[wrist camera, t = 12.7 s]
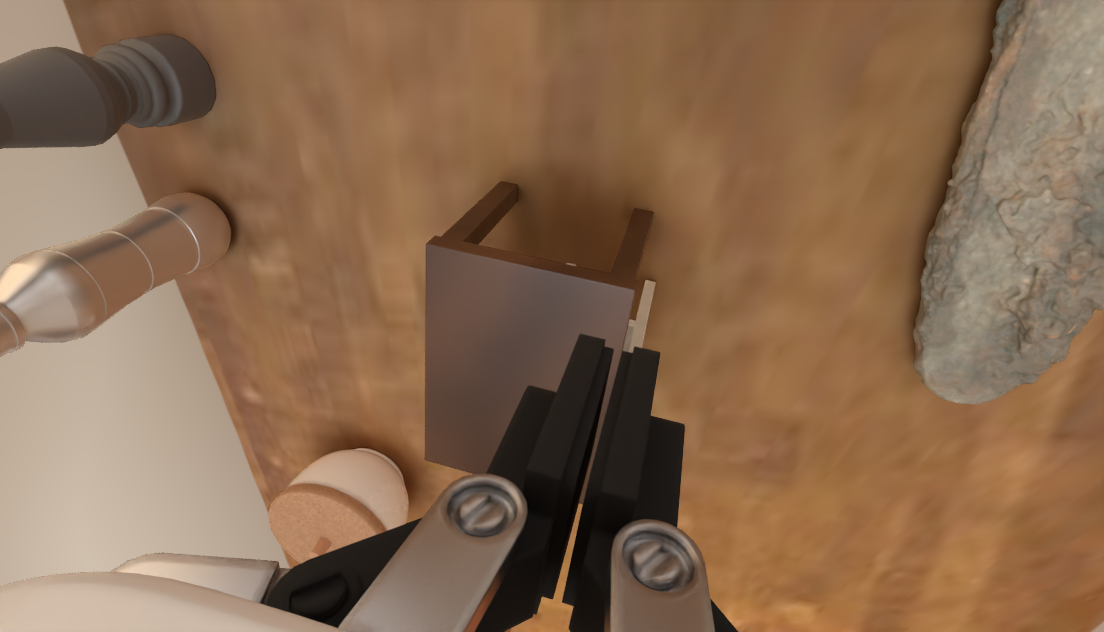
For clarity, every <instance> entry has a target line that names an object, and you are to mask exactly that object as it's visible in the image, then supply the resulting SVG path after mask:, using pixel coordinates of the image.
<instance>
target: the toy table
mask: <svg viewBox="0 0 1104 632" xmlns="http://www.w3.org/2000/svg"><path fill="white" fill-rule="evenodd" d="M517 191H518V185H516V184H511V183H506V182H499V183H498V184H497V185H496V186H495V187H494V188H493V189H492V190H491V191H490V192H489V193H488V194H486V195H485V196H484V197H483V198H482V199H481V200H480V201H479V202H478V203H477V204H476V205H475V206H474V207H472V208H471V209H470V210H469V211H468V212H467V213H466V214H465V215H464V216H463V217H462V218H461V219H460V220H459V221H457V222H456V223H455V224H454V225H453V226H452V227H451V228H450V229H449V230H448V231H447V232H446V233H445V234H443V235H442V236H441V237H439V236H434V237H433V238H432V239H431V240H430V241H429V242H427V243H426V329H425V460H426V461H430V462H433V463H437V464H440V465H444V466H448V467H451V468H455V469H458V470H462V471H466V472H469V473H473V474H477V473H478V474H486V472H487V470H488V468H489V466H490V464H491V462H492V460H493V458H494V455H495V453H496V451H497V449H498V447H499V445H500V443H501V441H502V438H503V436H504V434H505V432H506V430H507V428H508V426H509V424H510V421H511V419H512V417H513V415H514V413H515V411H516V409H517V407H518V405H519V402H520V400H521V398H522V396H523V394H524V392H525V390H526V388H527V387H528V386H529V385H531V386H535V387H539V388H543V389H546V390H550V391H554V392H557V390H558V387H559V385H560V382H561V380H562V377H563V375H564V372H565V369H566V367H567V364H568V362H569V359H570V357H571V354H572V352H573V349H574V347H575V344H576V342H577V339H578V336H579V334H585V335H589V336H593V337H597V338H602V339H606V341H605V347H609V348H614V352H613V357H612V362H611V367H610V371H609V376H608V381H607V386H606V390H605V395H604V400H603V404H602V409H601V414H600V419H599V423H598V428H597V433H596V438H595V442H594V447H593V451H592V455H591V459H590V463H589V467H588V471H587V474H586V478H585V482H584V485H583V489H582V493H581V497H580V500H579V503H580V504H583V502H584V497H585V493H586V489H587V484H588V480H589V476H590V472H591V468H592V465H593V461H594V457H595V453H596V449H597V446H598V442H599V438H600V434H601V430H602V426H603V423H604V419H605V415H606V411H607V407H608V403H609V400H610V396H611V392H612V388H613V384H614V381H615V377H616V373H617V369H618V365H619V361H620V358H621V354H622V351H623V348H624V343H625V339H626V334H627V330H628V325H629V320H630V316H631V311H632V307H633V302H634V298H635V293H636V289H637V284H638V280H636V279H637V275H638V271H639V268H640V264H641V261H642V257H643V253H644V250H645V246H646V242H647V239H648V235H649V232H650V228H651V223H652V219H653V214H654V212H651V211H646V210H641V209H636V208H635V209H634V212H633V215H632V217H631V220H630V223H629V225H628V228H627V231H626V234H625V236H624V239H623V242H622V244H621V247H620V250H619V253H618V255H617V258H616V261H615V263H614V266H613V269H612V272H611V274H609V273H604V272H600V271H595V270H590V269H586V268H581V267H577V266H572V265H568V264H563V263H558V262H554V261H549V260H545V259H540V258H536V257H531V256H526V255H522V254H517V253H513V252H508V251H503V250H499V249H494V248H490V247H485V246H481V245H478V244H479V243H480V242H481V241H482V240H483V239H484V238H485V237H486V235H487V234H488V233H489V232H490V231H491V230H492V229H493V228H494V227H495V225H496V224H497V223H498V222H499V221H500V220H501V219H502V218H503V217H504V216H505V214H506V213H507V212H508V211H509V210H510V209H511V208H512V207H513V206H514V204H515V203H516V202H517Z"/></svg>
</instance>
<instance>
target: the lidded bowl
mask: <svg viewBox="0 0 1104 632" xmlns="http://www.w3.org/2000/svg"><path fill="white" fill-rule="evenodd" d="M408 507H409V503H408V494H407V490H406V487H405V484H404V479H403V475H402V473H401V471H400V469H399V468H398V467H397V465H396V464H395V463H394V462H393V461H392V460H391V459H389V458H388V457H387V456H385V455H383V454H382V453H380V452H378V451H375V450H372V449H367V448H357V449H353V450H341V451H336V452H333V453H330V454H327V455H325V456H323V457H321V458H319V459H317V460H316V461H314V462H313V463H312V464H310V465H309V466H307V467H306V468H305V469H304V470H303V471H302V472H300V473H299V474H298V475H297V476H296V477H295V478H294V480H293V481H292V482H291V483H290V484H289V485H288V486H287V488H286V489H284V490H283V491H281V492H280V494H279V495H278V496H277V497H276V498H275V499H274V501H273V502H272V503H271V506H270V508H269V523H270V527H271V530H272V532H273V534H274V536H275V537H276V539H277V541H278V542H279V544H280V545H281V546H282V547H283V548H284V549H285V551H286V552H287V553H288V554H289V555H290V556H292V557H293V558H294V559H295V560H296V561H298V562H299V563H300V564H301V563H303V562H305V561H307V560H309V559H312V558H314V557H317V556H320V555H323V554H325V553H328V552H331V551H333V550H336V549H339V548H342V547H344V546H347V545H350V544H352V543H355V542H358V541H361V540H363V539H366V538H369V537H371V536H374V535H377V534H380V533H382V532H385V531H388V530H390V529H393V528H396V527H399V526H401V525H404V524H406V521H407V517H408Z"/></svg>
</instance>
